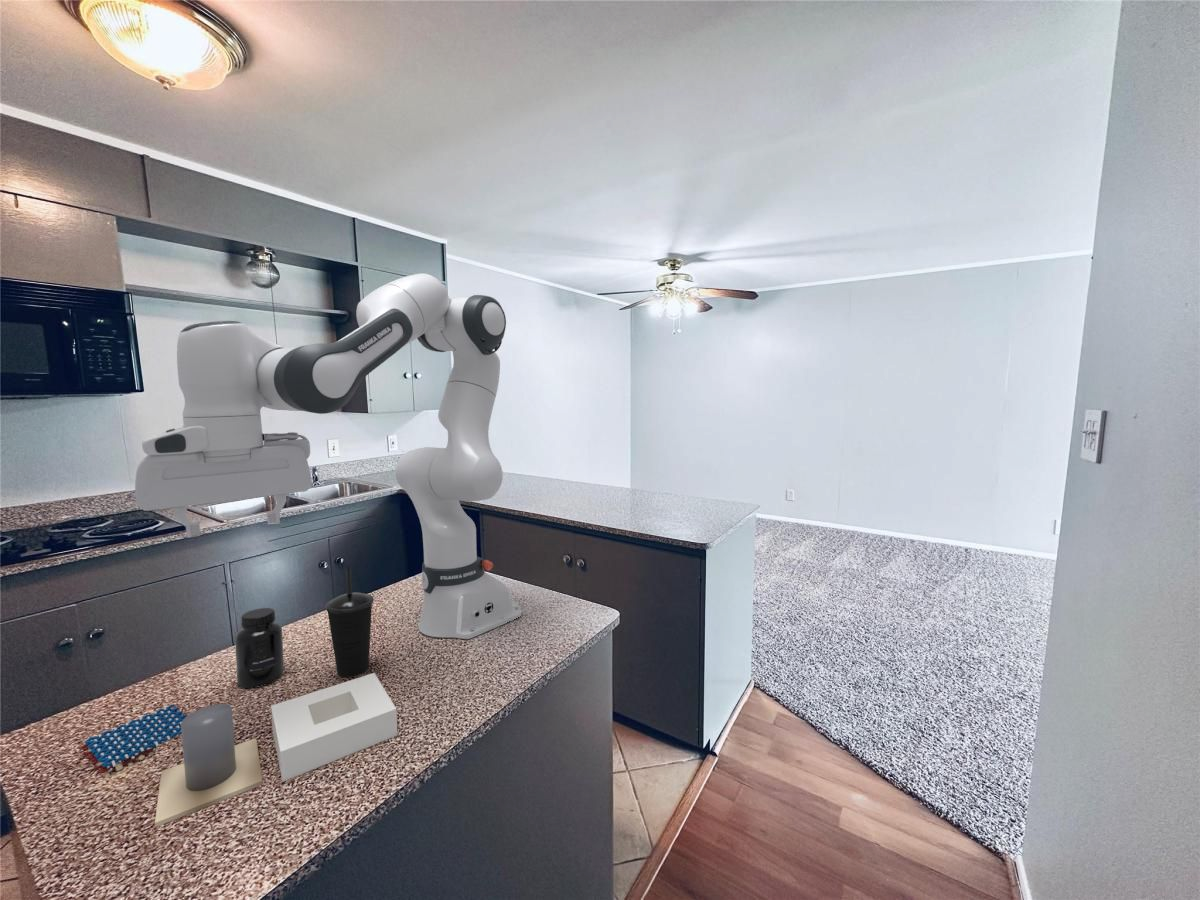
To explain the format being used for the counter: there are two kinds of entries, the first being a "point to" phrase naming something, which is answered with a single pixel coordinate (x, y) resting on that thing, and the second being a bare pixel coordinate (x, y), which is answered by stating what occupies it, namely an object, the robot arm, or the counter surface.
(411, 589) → the counter surface
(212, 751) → the grey cylinder
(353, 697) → the block
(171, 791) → the pad
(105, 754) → the woven mat
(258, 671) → the supplement bottle
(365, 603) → the drinking cup
